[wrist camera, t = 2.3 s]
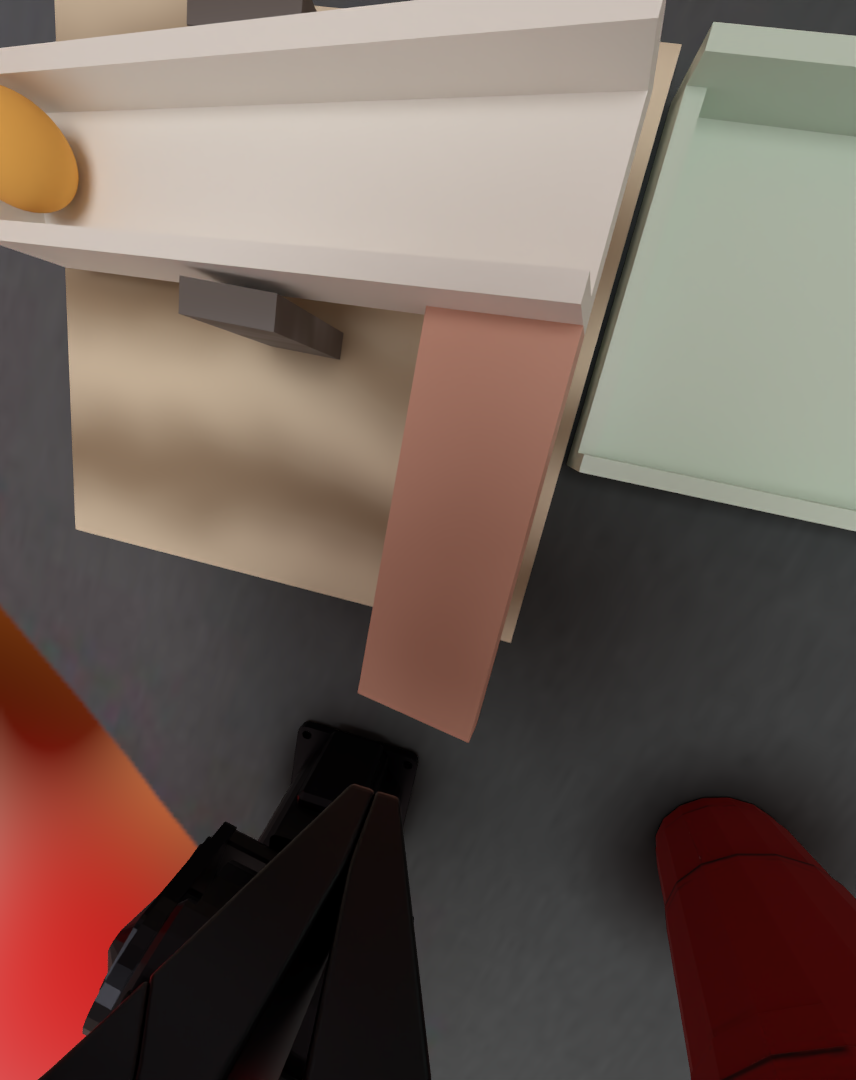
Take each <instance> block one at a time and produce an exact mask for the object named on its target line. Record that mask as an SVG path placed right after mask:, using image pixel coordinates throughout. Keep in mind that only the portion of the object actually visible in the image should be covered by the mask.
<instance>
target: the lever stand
mask: <svg viewBox="0 0 856 1080" xmlns="http://www.w3.org/2000/svg"><path fill="white" fill-rule="evenodd" d="M336 9H340V8H331V7H321V6H314V4H313V2H312V0H55V22H56V42H58V41H67V40H75V39H84V38H93V37H101V36H110V35H119V34H127V33H136V32H145V31H153V30H162V29H171V28H179V27H188V26H197V25H206V24H214V23H223V22H232V21H240V20H249V19H258V18H266V17H275V16H284V15H292V14H301V13H310V12H318V11H327V10H336ZM681 45H682V44H673V43H664V42H660V45H659V51H658V58H657V64H656V71H655V77H654V84H653V90H652V94H651V98H650V102H649V105H648V109H647V112H646V116H645V120H644V123H643V127H642V130H641V134H640V138H639V141H638V145H637V148H636V152H635V156H634V159H633V163H632V166H631V170H630V174H629V177H628V181H627V184H626V188H625V192H624V195H623V199H622V203H621V206H620V210H619V213H618V217H617V221H616V224H615V228H614V231H613V235H612V239H611V242H610V246H609V249H608V253H607V257H606V260H605V264H604V267H603V271H602V275H601V278H600V282H599V285H598V289H597V293H596V296H595V300H594V303H593V307H592V311H591V314H590V318H589V321H588V325H587V329H586V332H585V336H584V339H583V343H582V347H581V350H580V354H579V358H578V361H577V365H576V368H575V372H574V376H573V379H572V383H571V386H570V390H569V394H568V397H567V401H566V404H565V408H564V412H563V415H562V419H561V422H560V426H559V430H558V433H557V437H556V440H555V444H554V448H553V451H552V455H551V458H550V462H549V466H548V469H547V473H546V476H545V480H544V484H543V487H542V491H541V494H540V498H539V502H538V505H537V509H536V513H535V516H534V520H533V523H532V527H531V531H530V534H529V538H528V541H527V545H526V549H525V552H524V556H523V559H522V563H521V567H520V570H519V574H518V577H517V581H516V585H515V588H514V592H513V595H512V599H511V603H510V606H509V610H508V613H507V617H506V621H505V624H504V628H503V631H502V635H501V639H500V640H502V641H505V642H509V643H511V640H512V636H513V633H514V629H515V626H516V622H517V619H518V615H519V612H520V608H521V605H522V601H523V598H524V594H525V591H526V587H527V584H528V580H529V577H530V573H531V570H532V566H533V563H534V559H535V556H536V552H537V549H538V545H539V542H540V538H541V535H542V531H543V528H544V524H545V521H546V517H547V514H548V510H549V507H550V503H551V500H552V496H553V493H554V489H555V486H556V482H557V479H558V475H559V472H560V468H561V465H562V461H563V458H564V454H565V451H566V447H567V444H568V440H569V437H570V433H571V430H572V426H573V423H574V419H575V416H576V412H577V409H578V405H579V402H580V398H581V395H582V391H583V388H584V384H585V381H586V377H587V374H588V370H589V367H590V363H591V360H592V356H593V353H594V349H595V346H596V342H597V339H598V335H599V332H600V328H601V325H602V321H603V318H604V314H605V311H606V307H607V304H608V300H609V297H610V293H611V290H612V286H613V283H614V279H615V276H616V272H617V269H618V266H619V262H620V259H621V255H622V252H623V248H624V245H625V241H626V238H627V234H628V231H629V227H630V224H631V220H632V217H633V213H634V210H635V206H636V203H637V199H638V196H639V192H640V189H641V185H642V182H643V178H644V175H645V171H646V168H647V164H648V161H649V157H650V154H651V150H652V147H653V143H654V140H655V136H656V133H657V129H658V126H659V122H660V119H661V115H662V112H663V108H664V105H665V101H666V98H667V94H668V91H669V87H670V84H671V80H672V77H673V73H674V70H675V66H676V63H677V59H678V56H679V52H680V49H681ZM65 273H66V299H67V324H68V349H69V374H70V399H71V424H72V449H73V475H74V500H75V525H76V529H77V530H81V531H84V532H88V533H92V534H96V535H100V536H104V537H107V538H111V539H115V540H119V541H123V542H126V543H130V544H134V545H138V546H142V547H146V548H149V549H153V550H157V551H161V552H165V553H169V554H172V555H176V556H180V557H184V558H188V559H192V560H195V561H199V562H203V563H207V564H211V565H215V566H218V567H222V568H226V569H230V570H234V571H237V572H241V573H245V574H249V575H253V576H257V577H260V578H264V579H268V580H272V581H276V582H280V583H283V584H287V585H291V586H295V587H299V588H303V589H306V590H310V591H314V592H318V593H322V594H326V595H329V596H333V597H337V598H341V599H345V600H348V601H352V602H356V603H360V604H364V605H368V606H371V607H373V603H374V598H375V592H376V586H377V581H378V575H379V569H380V564H381V558H382V552H383V547H384V541H385V535H386V530H387V524H388V519H389V513H390V507H391V502H392V496H393V490H394V485H395V479H396V473H397V468H398V462H399V456H400V451H401V445H402V439H403V434H404V428H405V422H406V417H407V411H408V405H409V400H410V394H411V389H412V383H413V377H414V372H415V366H416V360H417V355H418V349H419V343H420V338H421V332H422V326H423V321H424V315H423V314H415V313H408V312H400V311H392V310H385V309H377V308H370V307H362V306H354V305H347V304H339V303H331V302H324V301H316V300H309V299H301V298H293V297H286V296H281V295H279V294H277V293H273V292H267V291H262V290H256V289H251V288H245V287H240V286H235V285H229V284H224V283H218V282H213V281H207V280H202V279H196V278H191V277H186V276H179V282H172V281H164V280H156V279H149V278H141V277H134V276H126V275H118V274H111V273H103V272H95V271H88V270H80V269H73V268H66V267H65Z"/></svg>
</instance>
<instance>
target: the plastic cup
mask: <svg viewBox="0 0 856 1080" xmlns="http://www.w3.org/2000/svg"><path fill="white" fill-rule="evenodd" d="M656 857H657V868H658V873H659V878H660V884H661V889H662V894H663V899H664V905H665V915H666V926H667V934H668V940H669V946H670V952H671V958H672V964H673V970H674V976H675V982H676V988H677V994H678V1000H679V1007H680V1013H681V1019H682V1025H683V1031H684V1037H685V1043H686V1049H687V1055H688V1061H689V1067H690V1073H691V1080H856V899H855V898H854V897H853V896H852V895H851V894H850V892H849V891H848V890H847V889H846V888H845V887H844V886H843V885H842V884H840V883H839V882H837V881H836V880H834V879H833V878H832V877H831V876H830V875H829V874H828V873H827V872H826V871H825V870H824V869H823V868H822V867H821V866H820V864H819V863H818V862H817V861H816V860H815V859H814V858H813V857H812V856H811V855H810V854H809V853H808V852H807V851H806V850H805V848H804V847H803V846H802V845H801V844H800V843H799V842H798V841H797V840H796V839H795V838H794V837H793V836H792V835H791V834H790V833H789V831H788V830H787V829H786V828H784V827H783V826H781V825H780V824H778V823H777V822H776V821H775V820H774V819H773V818H772V817H770V816H769V815H768V814H766V813H765V812H763V811H762V810H760V809H759V808H758V807H756V806H755V805H753V804H749V803H746V802H742V801H739V800H735V799H732V798H702V799H699V800H696V801H693V802H690V803H687V804H684V805H681V806H679V807H678V808H676V809H675V810H674V811H673V812H672V813H670V814H669V815H668V816H667V817H665V818H664V819H663V821H662V823H661V825H660V827H659V830H658V832H657V834H656Z"/></svg>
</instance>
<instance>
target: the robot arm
mask: <svg viewBox="0 0 856 1080" xmlns="http://www.w3.org/2000/svg"><path fill="white" fill-rule="evenodd" d="M307 731H308V732H310V733H311V734H309V733H307ZM406 761H409V762H411V764H410V763H407V762H406ZM417 766H418V757H417V755H416V754H415V753H413V752H410V751H407V750H403V749H400V748H397V747H393V746H390V745H387V744H383V743H380V742H376V741H373V740H370V739H366V738H363V737H360V736H356V735H353V734H349V733H346V732H343V731H339V730H336V729H333V728H329V727H326V726H322V725H319V724H316V723H312V722H305V723H304V724H302V726H301V727H300V729H299V731H298V736H297V743H296V751H295V758H294V766H293V773H292V781H291V786H290V787H289V789H288V791H287V792H286V794H285V796H284V797H283V799H282V801H281V803H280V804H279V806H278V808H277V809H276V811H275V813H274V814H273V816H272V818H271V819H270V821H269V823H268V825H267V826H266V828H265V830H264V831H263V833H262V835H261V836H260V838H259V840H258V841H257V840H255V839H253V838H251V837H249V836H247V835H245V834H243V833H241V832H239V831H237V830H236V829H237V827H235V826H233V825H231V824H230V823H228V822H224V823H223V825H222V826H221V827H220V828H219V829H218V831H217V832H216V833H215V834H214V835H213V837H212V838H211V837H208V838H207V839H206V840H205V841H204V843H203V844H200V845H199V846H198V848H197V849H196V850H195V852H194V853H193V855H192V856H191V857H190V859H189V860H188V861H187V863H186V864H185V865H184V866H183V867H182V868H181V870H180V871H179V872H178V873H177V874H176V876H175V877H174V878H173V879H172V880H171V882H170V883H169V884H168V885H167V886H166V887H165V889H164V890H163V891H162V892H161V893H160V894H159V895H158V896H157V897H156V898H155V899H154V900H153V901H152V902H151V903H150V904H149V905H148V906H147V907H146V908H145V909H143V910H142V912H140V913H139V914H138V915H137V916H136V917H135V918H134V919H133V920H132V921H131V922H129V923H128V924H127V925H126V926H125V927H124V928H123V929H122V930H121V931H120V933H119V934H118V935H117V937H116V938H115V940H114V941H113V943H112V944H111V946H110V948H109V950H108V973H107V975H106V977H105V979H104V981H103V984H102V986H101V988H100V991H99V994H98V996H97V998H96V999H95V1001H94V1003H93V1005H92V1008H91V1009H90V1012H89V1014H88V1016H87V1018H86V1021H85V1023H84V1026H83V1034H85V1035H86V1037H85V1038H84V1039H83V1040H81V1041H80V1042H79V1043H78V1044H77V1045H76V1046H75V1047H74V1048H73V1049H72V1050H71V1051H69V1052H68V1053H67V1054H66V1055H65V1056H64V1057H63V1058H62V1059H61V1060H60V1061H58V1062H57V1064H56V1065H54V1066H53V1067H52V1068H51V1069H50V1070H49V1071H47V1072H46V1073H45V1074H44V1075H43V1076H42V1077H40V1078H39V1079H38V1080H431V1073H430V1064H429V1055H428V1046H427V1037H426V1029H425V1020H424V1011H423V1002H422V993H421V985H420V976H419V967H418V958H417V949H416V941H415V932H414V917H413V914H412V905H411V897H410V888H409V879H408V870H407V861H406V852H405V844H404V835H403V825H404V821H405V817H406V812H407V808H408V804H409V800H410V796H411V791H412V787H413V783H414V779H415V775H416V770H417Z"/></svg>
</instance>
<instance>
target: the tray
mask: <svg viewBox="0 0 856 1080" xmlns="http://www.w3.org/2000/svg"><path fill="white" fill-rule="evenodd" d="M566 465H568V466H569V467H571V468H573V469H575V470H576V471H578V472H581V473H586V474H591V475H595V476H600V477H605V478H609V479H614V480H619V481H623V482H628V483H633V484H637V485H642V486H647V487H651V488H656V489H661V490H665V491H670V492H675V493H679V494H684V495H689V496H693V497H698V498H703V499H707V500H712V501H717V502H721V503H726V504H731V505H735V506H740V507H745V508H749V509H754V510H759V511H763V512H768V513H773V514H777V515H782V516H787V517H791V518H796V519H801V520H805V521H810V522H815V523H819V524H824V525H829V526H833V527H838V528H843V529H847V530H852V531H856V36H851V35H841V34H831V33H820V32H810V31H800V30H790V29H780V28H770V27H760V26H750V25H740V24H730V23H719V22H713V24H712V26H711V28H710V30H709V31H708V33H707V35H706V37H705V39H704V41H703V43H702V45H701V47H700V49H699V51H698V53H697V54H696V56H695V58H694V60H693V62H692V64H691V66H690V68H689V70H688V72H687V74H686V76H685V77H684V79H683V81H682V83H681V85H680V87H679V89H678V91H677V93H676V95H675V97H674V99H673V100H672V102H671V104H670V108H669V111H668V114H667V118H666V121H665V125H664V128H663V132H662V135H661V139H660V142H659V146H658V149H657V153H656V156H655V159H654V163H653V166H652V170H651V173H650V177H649V180H648V184H647V187H646V191H645V194H644V197H643V201H642V204H641V208H640V211H639V215H638V218H637V222H636V225H635V229H634V232H633V236H632V239H631V242H630V246H629V249H628V253H627V256H626V260H625V263H624V267H623V270H622V274H621V277H620V280H619V284H618V287H617V291H616V294H615V298H614V301H613V305H612V308H611V312H610V315H609V319H608V322H607V325H606V329H605V332H604V336H603V339H602V343H601V346H600V350H599V353H598V357H597V360H596V364H595V367H594V370H593V374H592V377H591V381H590V384H589V388H588V391H587V395H586V398H585V402H584V405H583V408H582V412H581V415H580V419H579V422H578V426H577V429H576V433H575V436H574V440H573V443H572V447H571V450H570V453H569V457H568V460H567V464H566Z"/></svg>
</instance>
